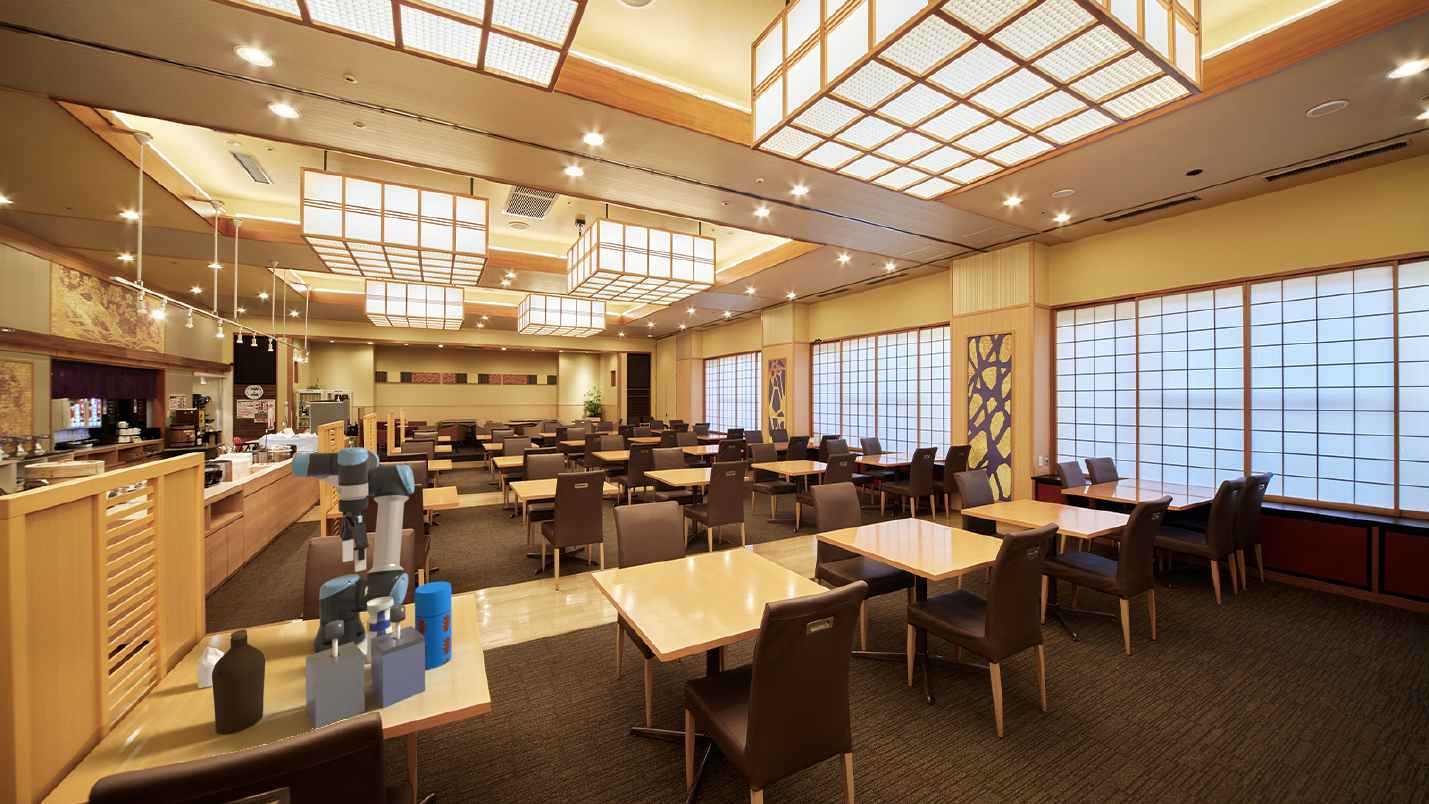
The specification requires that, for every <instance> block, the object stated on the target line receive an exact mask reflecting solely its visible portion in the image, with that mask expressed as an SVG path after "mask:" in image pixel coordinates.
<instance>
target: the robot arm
mask: <svg viewBox="0 0 1429 804" xmlns="http://www.w3.org/2000/svg"><path fill="white" fill-rule="evenodd" d="M379 457H380V456H379V455H378V454H377V453H376V452H374V451H373V450H368V449H367V448H366V447H345V448H340V449H339V451H335V452H306V453H298V454H296V455H294V456H293V458H292V460H291V465H290V468H291V469H290V470H291V473H292V475H293V476H294V477H296V478H310V477H311V478H314V479H318V480H320V481H323V482H324V483H328V484H330V485H333V487H334V488H335V490H336V493H337V492H338V498H339V500H338V503H337V505H338V508H337V509H338V512H339V513H342V520H341V526H340V532H339V533H340V534H339V537H340V538H341V541H342V545H341V546H342V547H341V550H342V551H341V552H342V558H341V559H342V560H341V561H342V563H348V562H350V561H354V572H355V573H356V574H355V573H350V574H345V575H341V576H337V577H335V578H332V579H330V580H328V581H326V582H325V583H323V584H322V585H321V586H320V588H319V597H318V600H319V602H318V603H319V626H318V630H317V632H316V635H315V638H314V640H313V651H314V652H315V653H316V652H317V653H318V652H322V651H325V650H328V649H331V648H332V639H326V624H327V623H329V622H332V621H336V620H343V621H344V635H343V636H341V637H339V638H338V646H341V645H344V644H347V643H350V642H354V643H355V645H356V646H357V645H359V643H362V642H363V641H364V640H365V639H366V631H367V630H366V627H365V625H364V623H363V622H362V619H361V616H360V614H361V613H362V612H363V613H364V612H368V611H367V606H368V605H367V602H368V601H370V600H373V599H376V598H381V597H392V598H393V601H394V604H393V605H392V606H391V607H390V608H392V607H394V606H398V605H402V604H403V602H404V600H405V598H406V595H407V590H408V585H409V574H408V573H406V572H405V573H404V570H405V568H403V566H401V564H400V563H401V562H400V561H401V560H400V559H401V551H402V550H401V549H402V536H403V535H402V534H403V522H404V520H403V519H404V509H405V502H407V501H408V500H409V498H410V495H412V494H413V493H414V492H415V479H414V473H413V470H412V467H410V466H409V465H406V464H405V465H402V464H393V465H379V464H380V458H379ZM369 497H373V500H374V501H375V503H377V516H376V525H375V536H374V537H375V538H374V546H373V547H374V548H373V549H374V550H373V561H372V568H371V569H369V571H367V574H366V577H365V578H361V577H360V575H359V574H358V573H357V572H361V571H364V570H367V548H369V547H370V546H369V540H368V539H369V538H368V533H367V527H366V516H365V514H364V515H362V511H365V510H367V509H368V508H369ZM354 545H355V547H354ZM366 586H367V587H368V589H367V594H366V595H365V589H366Z"/></svg>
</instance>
